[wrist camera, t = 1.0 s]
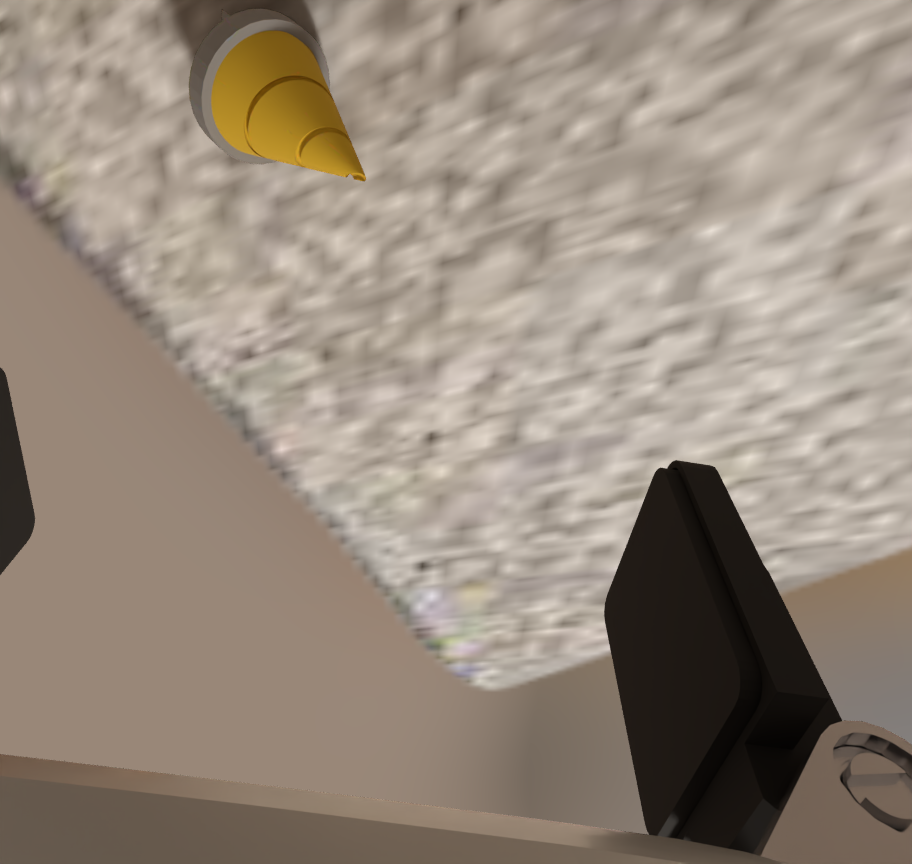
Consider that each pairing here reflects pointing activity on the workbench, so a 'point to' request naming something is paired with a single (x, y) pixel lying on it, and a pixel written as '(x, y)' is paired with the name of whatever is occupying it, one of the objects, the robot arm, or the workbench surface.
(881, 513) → the workbench surface
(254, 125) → the drill bit
